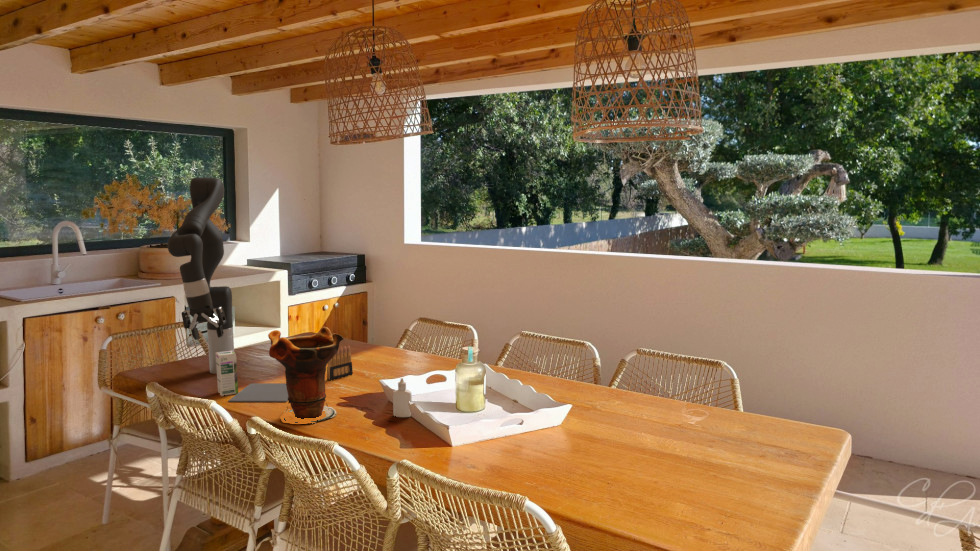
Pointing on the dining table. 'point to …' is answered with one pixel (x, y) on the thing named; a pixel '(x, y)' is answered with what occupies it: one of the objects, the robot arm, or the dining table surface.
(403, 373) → the dining table surface
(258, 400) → the mat
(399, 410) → the eye dropper bottle
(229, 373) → the syrup box
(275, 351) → the decorative vase
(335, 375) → the ammunition clip
